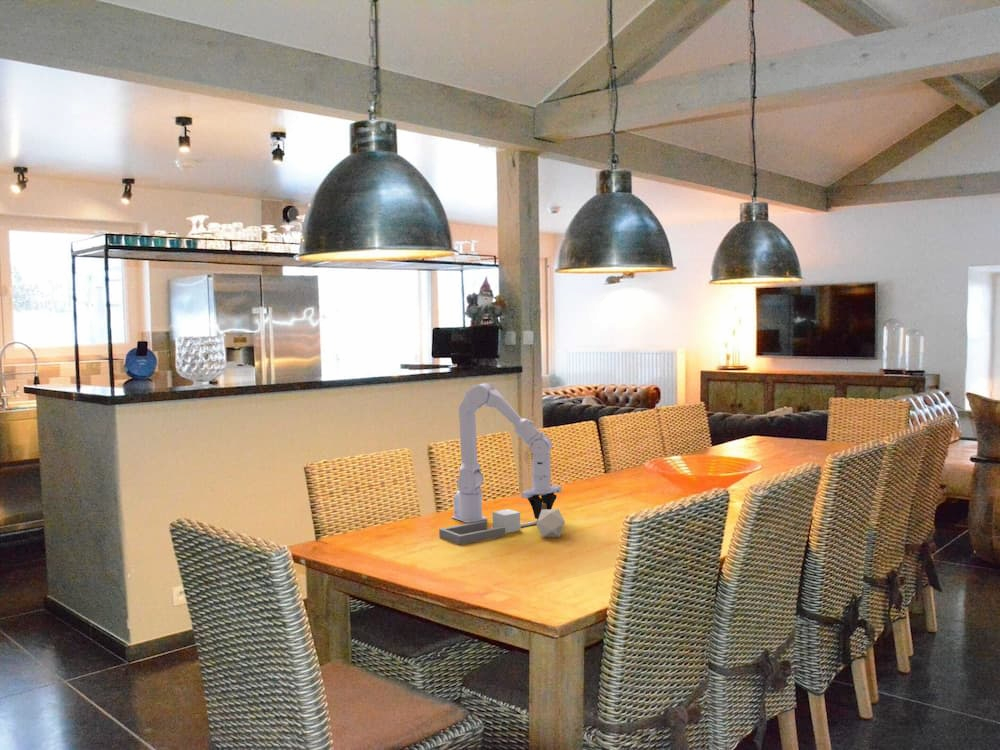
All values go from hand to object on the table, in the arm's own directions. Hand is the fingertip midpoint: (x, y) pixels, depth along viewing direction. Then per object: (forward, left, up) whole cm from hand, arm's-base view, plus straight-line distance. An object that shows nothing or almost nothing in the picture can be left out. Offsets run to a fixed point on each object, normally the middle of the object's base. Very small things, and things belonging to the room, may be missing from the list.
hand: (542, 517), depth 274 cm
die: (+14, -8, -2) cm, 16 cm away
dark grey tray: (0, -26, -2) cm, 26 cm away
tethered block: (0, -8, -2) cm, 8 cm away
